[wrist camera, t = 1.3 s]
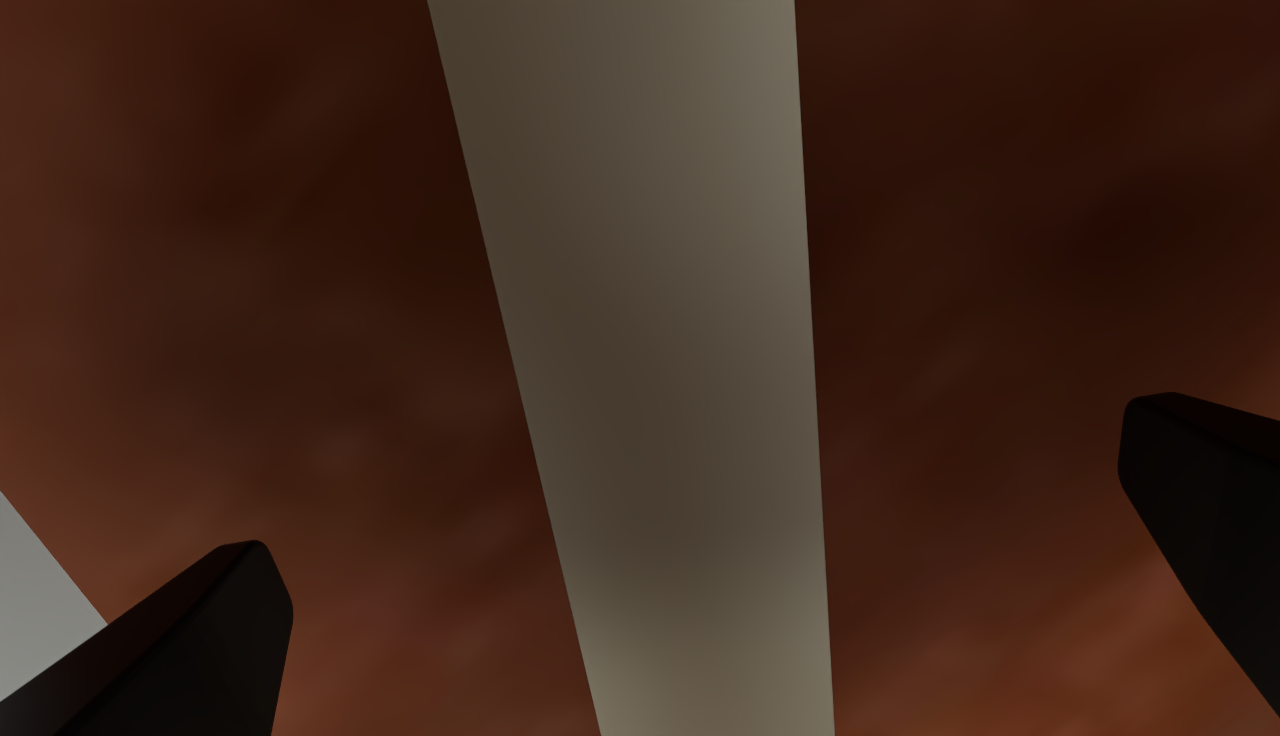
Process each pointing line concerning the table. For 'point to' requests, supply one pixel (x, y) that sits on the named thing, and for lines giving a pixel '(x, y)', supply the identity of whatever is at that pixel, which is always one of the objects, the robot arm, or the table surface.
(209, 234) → the table surface
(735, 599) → the batten
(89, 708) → the robot arm
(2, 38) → the table surface
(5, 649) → the crown molding
